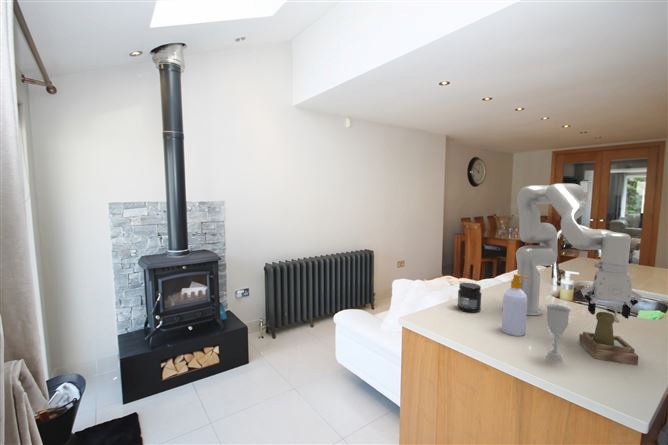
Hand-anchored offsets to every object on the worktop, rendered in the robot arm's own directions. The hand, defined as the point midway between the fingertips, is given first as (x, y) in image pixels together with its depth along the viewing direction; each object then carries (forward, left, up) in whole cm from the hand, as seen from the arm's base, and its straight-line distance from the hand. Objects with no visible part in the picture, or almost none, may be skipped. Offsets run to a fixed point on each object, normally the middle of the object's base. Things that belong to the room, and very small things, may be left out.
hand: (608, 315), depth 117 cm
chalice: (-19, -12, -14) cm, 26 cm away
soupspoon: (+21, +45, -14) cm, 52 cm away
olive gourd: (-1, 0, -10) cm, 10 cm away
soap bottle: (-28, +8, -14) cm, 32 cm away
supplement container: (-44, +30, -14) cm, 55 cm away
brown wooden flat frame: (0, 0, -13) cm, 13 cm away
